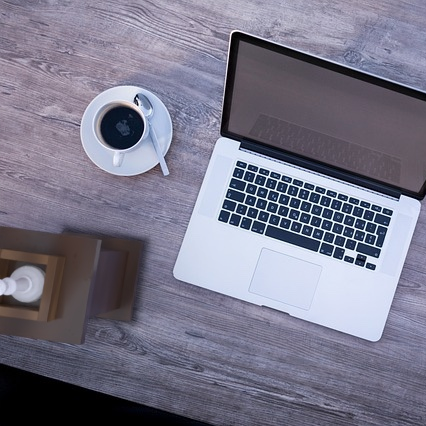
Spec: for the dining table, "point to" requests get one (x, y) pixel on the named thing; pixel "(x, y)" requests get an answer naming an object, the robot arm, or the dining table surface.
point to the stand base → (115, 277)
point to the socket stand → (49, 284)
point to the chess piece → (24, 284)
